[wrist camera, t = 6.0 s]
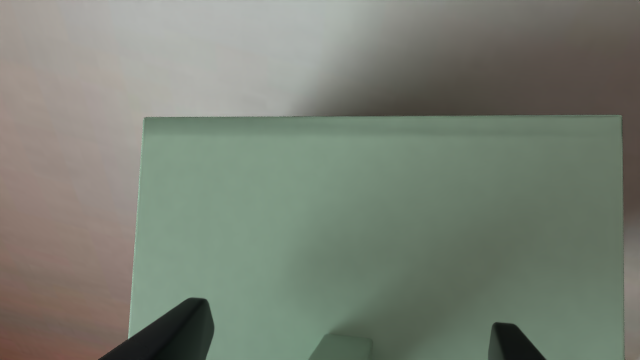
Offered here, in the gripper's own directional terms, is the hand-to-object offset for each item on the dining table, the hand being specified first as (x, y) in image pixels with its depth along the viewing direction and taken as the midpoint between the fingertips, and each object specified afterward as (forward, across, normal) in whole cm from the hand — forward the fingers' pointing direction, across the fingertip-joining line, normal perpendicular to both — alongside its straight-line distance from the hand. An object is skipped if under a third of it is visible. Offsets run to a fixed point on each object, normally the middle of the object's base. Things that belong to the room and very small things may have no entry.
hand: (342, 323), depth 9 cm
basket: (+6, 0, -2) cm, 6 cm away
